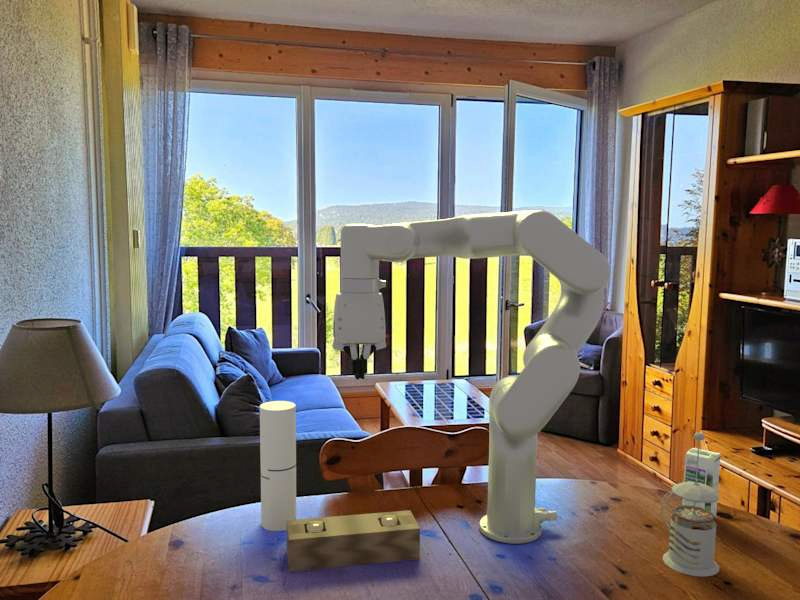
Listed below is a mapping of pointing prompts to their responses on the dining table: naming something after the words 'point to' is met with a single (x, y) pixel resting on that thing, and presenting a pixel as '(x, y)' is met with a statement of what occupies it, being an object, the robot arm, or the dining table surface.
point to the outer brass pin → (314, 526)
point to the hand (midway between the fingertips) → (359, 377)
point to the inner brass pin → (388, 520)
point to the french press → (692, 554)
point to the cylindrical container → (278, 464)
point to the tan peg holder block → (352, 541)
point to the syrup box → (702, 474)
